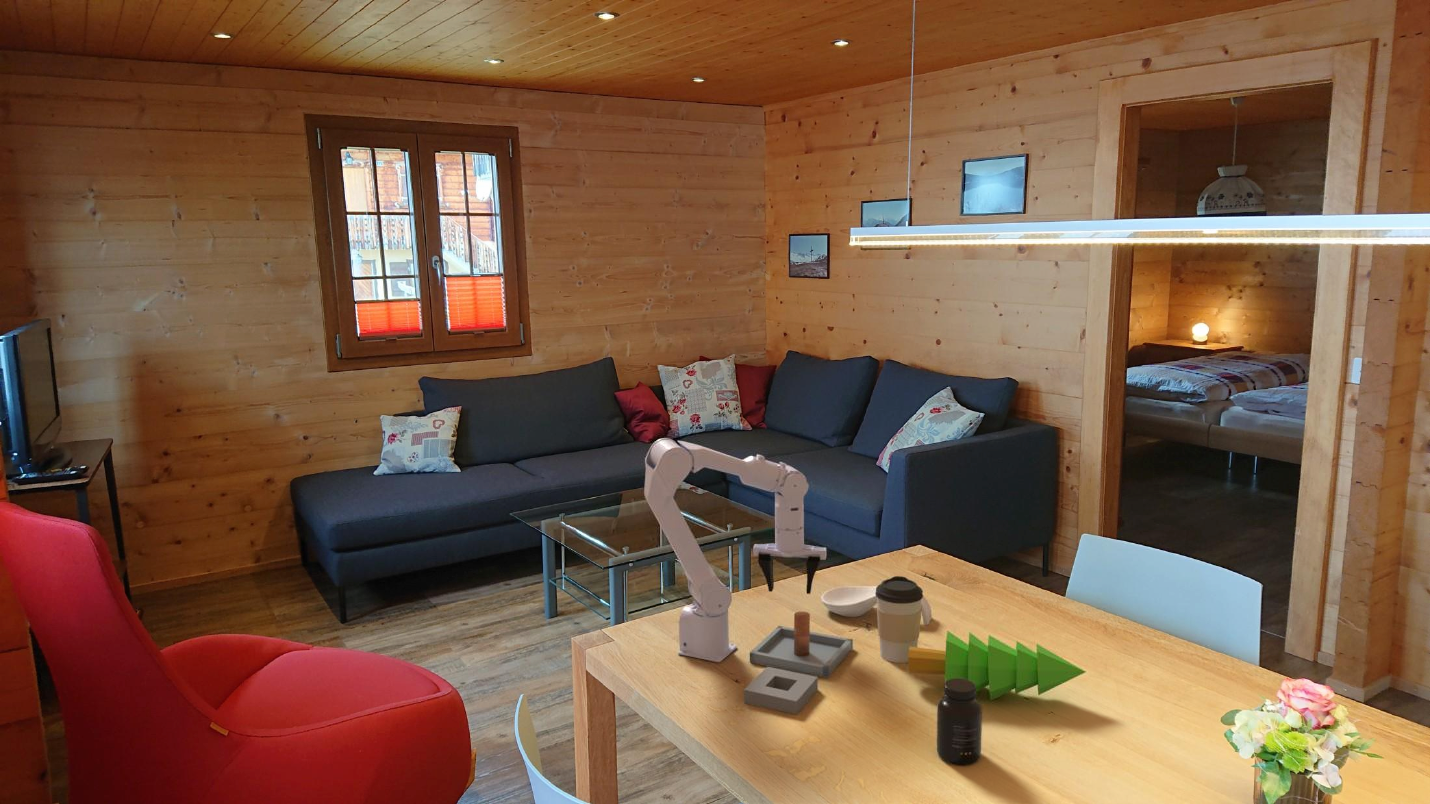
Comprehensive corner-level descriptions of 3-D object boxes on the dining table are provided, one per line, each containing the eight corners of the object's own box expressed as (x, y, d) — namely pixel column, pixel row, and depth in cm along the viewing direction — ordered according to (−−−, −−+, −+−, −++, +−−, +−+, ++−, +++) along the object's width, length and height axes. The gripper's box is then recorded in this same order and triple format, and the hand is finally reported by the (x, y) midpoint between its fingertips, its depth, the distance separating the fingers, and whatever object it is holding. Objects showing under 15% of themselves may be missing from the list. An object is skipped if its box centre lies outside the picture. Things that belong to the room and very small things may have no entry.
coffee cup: (922, 667, 181) (923, 592, 178) (873, 663, 182) (874, 589, 180) (921, 646, 189) (923, 575, 187) (875, 643, 191) (876, 572, 189)
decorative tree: (910, 615, 174) (1085, 625, 166) (913, 659, 180) (1083, 671, 171) (904, 662, 165) (1089, 675, 156) (908, 707, 171) (1087, 722, 162)
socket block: (744, 702, 168) (743, 689, 168) (767, 679, 177) (767, 666, 177) (796, 714, 164) (796, 701, 163) (817, 689, 173) (817, 676, 172)
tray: (749, 662, 184) (749, 652, 184) (778, 634, 196) (778, 625, 196) (827, 678, 177) (827, 668, 177) (852, 648, 189) (852, 639, 189)
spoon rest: (814, 618, 205) (814, 587, 204) (829, 599, 216) (829, 568, 214) (925, 633, 196) (926, 600, 195) (934, 612, 207) (935, 581, 206)
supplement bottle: (930, 745, 153) (932, 675, 151) (971, 742, 154) (973, 673, 152) (944, 768, 147) (946, 696, 144) (987, 765, 147) (989, 693, 145)
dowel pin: (791, 654, 186) (792, 616, 184) (797, 648, 188) (797, 610, 187) (806, 657, 185) (806, 618, 183) (811, 651, 187) (811, 613, 186)
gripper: (750, 530, 188) (751, 596, 190) (823, 534, 185) (823, 600, 187) (756, 520, 194) (757, 583, 197) (827, 523, 191) (827, 587, 194)
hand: (789, 590), depth 192 cm, fingers open, 7 cm apart
